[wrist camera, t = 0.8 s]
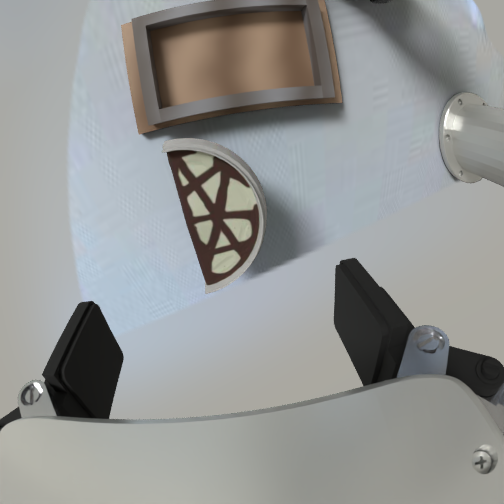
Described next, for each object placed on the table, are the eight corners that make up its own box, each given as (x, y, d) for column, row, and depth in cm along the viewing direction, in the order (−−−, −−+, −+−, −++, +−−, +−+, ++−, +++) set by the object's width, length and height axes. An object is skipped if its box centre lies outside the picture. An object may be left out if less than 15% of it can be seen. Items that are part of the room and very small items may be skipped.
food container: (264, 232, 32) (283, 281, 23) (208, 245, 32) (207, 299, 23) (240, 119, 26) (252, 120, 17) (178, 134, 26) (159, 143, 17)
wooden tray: (320, 1, 21) (330, -9, 18) (338, 102, 26) (350, 102, 24) (124, 27, 20) (115, 19, 18) (141, 133, 26) (133, 136, 23)
